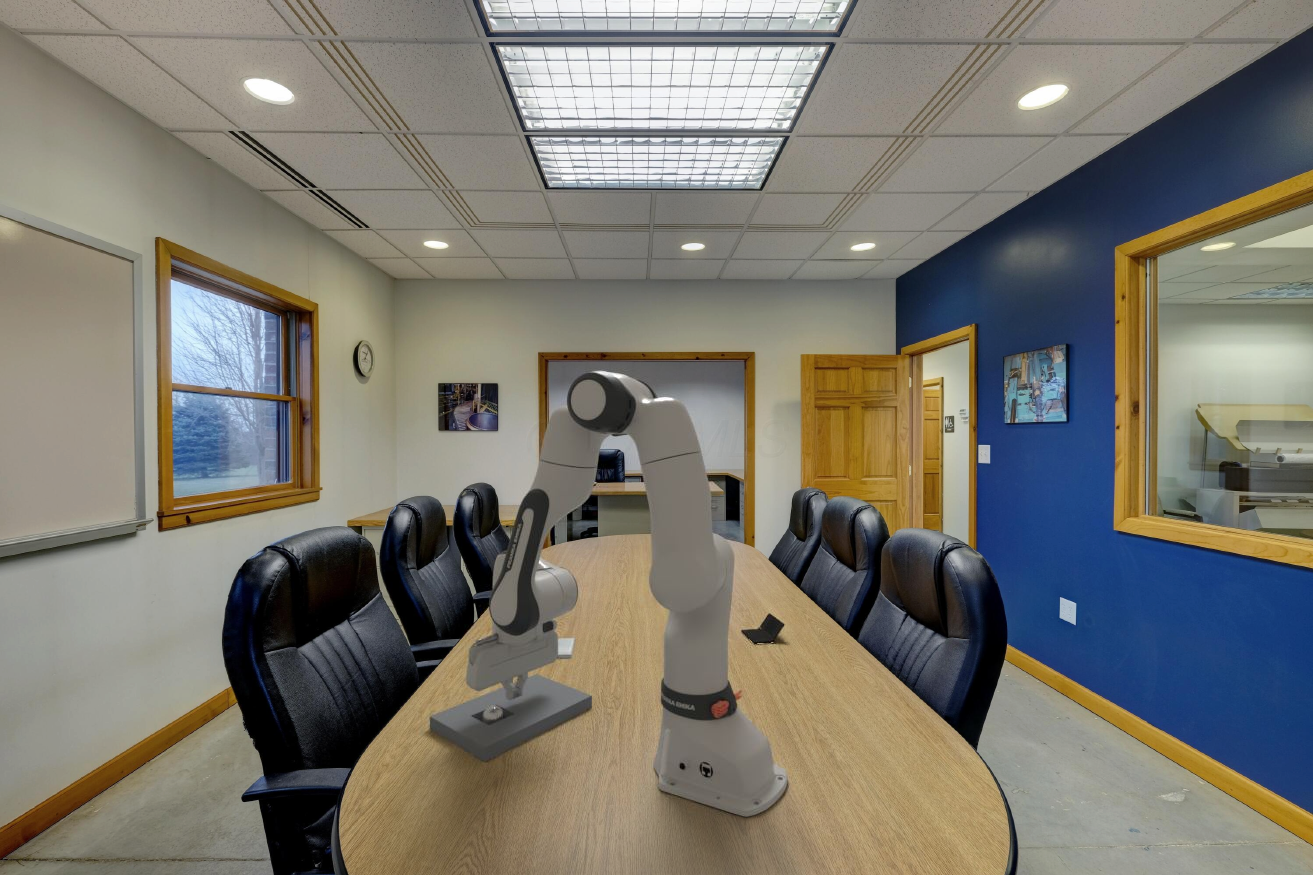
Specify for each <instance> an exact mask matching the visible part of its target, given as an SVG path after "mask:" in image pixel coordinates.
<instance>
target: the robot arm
mask: <svg viewBox="0 0 1313 875" xmlns="http://www.w3.org/2000/svg"><path fill="white" fill-rule="evenodd" d="M627 435H628V436H629V437H630V438H631V439H632V440H633V442H634V443H635V447H636V451H637V454H638V459H639V464H640V470H641V474H642V478H643V483H644V488H645V493H646V498H647V501H648V502H647V503H648V507H649V517H650V518H649V519H650V544H651V545H650V546H651V564H650V565H651V566H650V570H649V573H648V574H649V575H648V584H649V588H650V592H651V594H652V596H653V598H654V599H655V601H656V602H657V603H658V604H659V605H660V606H662V607H663V608H664V609H667V610H668V611H669V612H668V617H667V622H666V625H665V629H664V631H663V632H664V633H663V677H662V678H661V683H660V704H661V705H662V716H661V725H660V726H661V727H660V733H659V734H660V735H659V739H658V745H657V749H656V753H655V757H654V760H653V767H654V770H655V771H654V772H656V773H657V774H656V775H658V782H657V783H658V784H657V785H658V786H657V787H658V789H659V790H660V791H662V792H666V793H669V794H671V795H675V796H678V797H681V798H684V799H686V800H690V801H694V802H697V803H700V804H702V805H706V806H709V807H712V808H716V809H719V810H722V811H726V812H728V813H732V814H734V815H738V816H742V817H751V816H755V815H757V814H761V813H762V812H765V811H766V810H768V809H769V808H770V807H771V806H773V805H774V804H775V803H776V802H777V801H778V800H779V799H780V798H781V797H782V795H783V794H784V793H785V791H786V789H787V787H788V774H787V770H786V769H785V768H783V767H781V766H780V765H777V764H776V763H774V759H773V753H772V748H771V744H770V741H769V739H768V737H766V735H764V734H763V732H762V731H761V730H759V728H758V727H757V726H756V725H755V724H754V723H753V722H752V721H751V720H750V719H749V718H748V716H746V715H745V714H744V712H743V711H742V710H741V709H740V708H739V707H738V700H740V699H741V698H742V695H741V694H742V692H743V691H742V690H740V689H739V691H737V692H735V693H734V691H733V690H734V689H733V688H732V684H731V682H730V680H729V650H728V649H729V630H730V629H729V628H730V621H731V620H730V619H731V611H732V601H733V589H734V586H733V585H734V571H735V552H734V549H733V547H732V546H731V544H730V542H729V541H728V540H727V539H726V538H724V537H723V536H721V534H717V533H715V532H714V531H713V519H712V518H713V517H712V492H711V488H710V484H709V478H708V475H707V474H708V473H707V470H706V467H705V466H706V465H705V462H704V457H703V453H702V449H701V444H700V441H699V438H698V435H697V432H696V428H695V426H694V423H693V421H692V418H691V416H690V414H689V411H688V409H687V407H686V405H685V404H684V403H683V402H682V401H681V400H679V399H677V398H675V397H671V396H669V397H668V396H662V397H661V396H660V397H659V396H657V394H656V392H655V391H654V389H653V388H652V387H651V386H650V385H648V384H647V383H646V382H644V381H642V380H639V379H635V378H633V377H630V376H629V375H627V374H623V373H618V372H608V371H605V370H593V371H588V372H586V373H583V374H581V375H579V376H578V377H577V378H576V379H575V380H573V382H572V383H571V385H570V387H569V388H568V392H567V395H566V404H565V405H561V406H559V407H556V409H555V410H553V412H552V413H551V415H550V418H549V421H548V423H547V426H546V430H545V433H544V436H543V439H542V445H541V447H540V448H541V449H540V455H539V461H538V466H537V470H536V474H535V475H534V479H533V482H532V483H531V486H530V488H529V490H528V492H527V493H526V494H525V496H524V497H523V499H522V500H521V502H520V505H519V507H518V511H517V513H516V516H515V520H514V524H513V527H512V531H511V534H510V538H509V542H508V545H507V549H506V550H504V551H501V552H500V553H499V554H498V555H497V556H496V559H495V562H494V565H493V566H494V567H493V574H492V590H491V593H490V596H489V599H488V600H489V601H488V610H489V616H490V617H491V622H492V625H491V627H492V628H491V629H492V630H491V631H492V632H491V634H490V635H488V636H485V637H481V638H477V639H476V640H475V641H474V643H472V644H471V646H470V647H469V649H468V661H467V668H466V675H465V676H466V678H465V683H466V685H467V686H468V687H469V688H470V689H472V690H474V691H476V692H481V691H484V690H485V689H486V690H487V689H488V688H491V687H494V686H496V685H499V684H501V685H502V687H504V689H505V690H506V699H508V700H513V699H515V698H517V697H520V696H522V695H523V687H524V685H525V682H526V680H527V678H528V677H529V673H530V672H532V671H536V670H538V669H540V668H543V667H545V666H548V665H551V664H554V663H555V662H556V660H557V656H558V639H559V637H558V633H557V631H556V629H557V626H558V622H557V620H556V619H557V618H559V617H561V616H563V615H565V614H567V613H569V612H570V611H572V610H573V609H574V608H575V607H576V604H577V602H578V599H579V598H578V597H579V586H578V583H577V580H576V578H575V576H574V575H573V574H572V572H570V570H568V569H567V568H564V567H563V566H562V567H561V566H557V565H555V564H553V563H551V562H549V561H547V560H546V559H544V558H542V557H541V556H542V552H543V549H544V543H545V541H546V538H547V536H548V534H549V533H550V531H551V530H552V529H553V527H554V526H555V525H556V524H557V523H559V521H561V519H563V518H564V517H566V516H567V515H568V514H570V513H571V512H573V511H575V510H576V509H578V508H579V507H581V506H582V505H584V503H586V501H587V500H588V499H589V498H590V496H591V493H592V491H593V488H594V485H595V482H596V478H597V470H598V463H599V456H600V451H601V447H602V445H603V442H604V441H605V440H606V439H607V438H609V436H612V437H622V436H627ZM515 678H516V680H515V682H516V684H515V686H514V687H512V686H511V684H512V683H514V679H515Z"/></svg>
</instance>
